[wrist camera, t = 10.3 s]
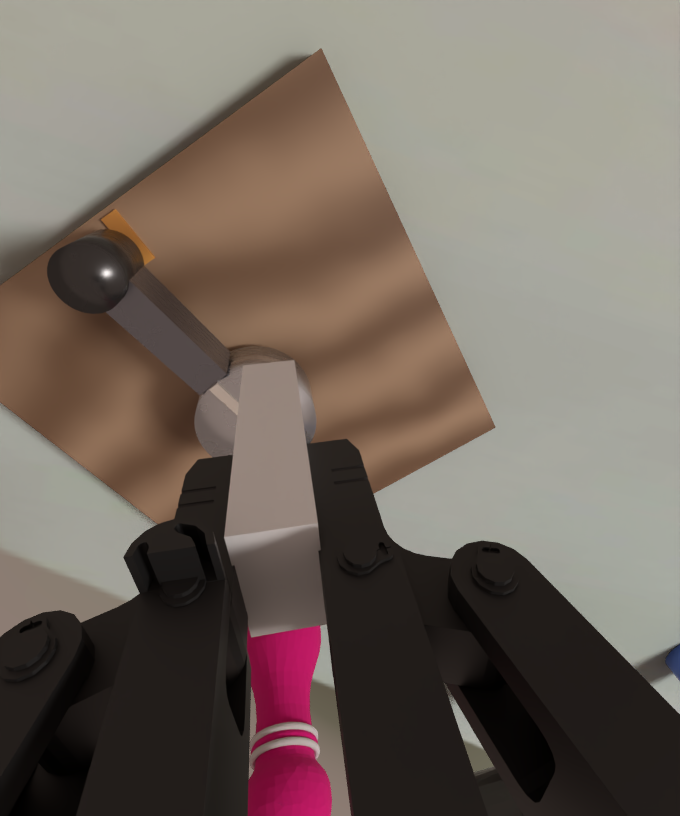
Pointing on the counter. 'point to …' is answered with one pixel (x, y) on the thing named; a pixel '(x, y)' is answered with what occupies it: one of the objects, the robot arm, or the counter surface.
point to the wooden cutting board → (251, 304)
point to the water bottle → (674, 661)
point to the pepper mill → (285, 727)
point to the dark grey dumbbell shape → (165, 330)
